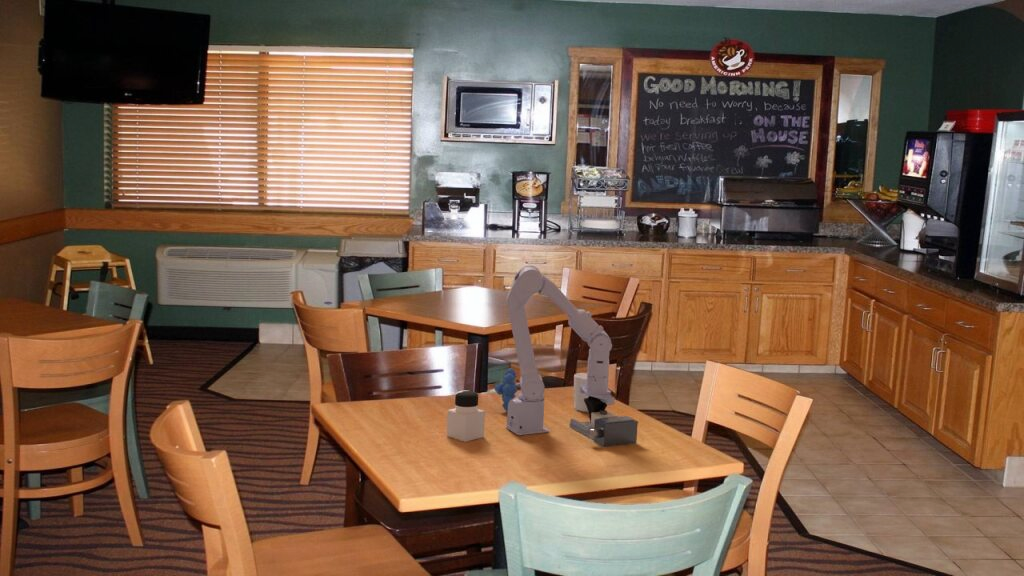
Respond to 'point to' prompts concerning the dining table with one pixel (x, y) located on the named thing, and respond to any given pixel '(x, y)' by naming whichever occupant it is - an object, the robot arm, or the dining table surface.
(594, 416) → the block
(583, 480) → the dining table surface
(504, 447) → the dining table surface
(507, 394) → the grapes
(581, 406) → the white cup
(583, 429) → the module housing
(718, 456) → the dining table surface
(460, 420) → the medicine bottle
